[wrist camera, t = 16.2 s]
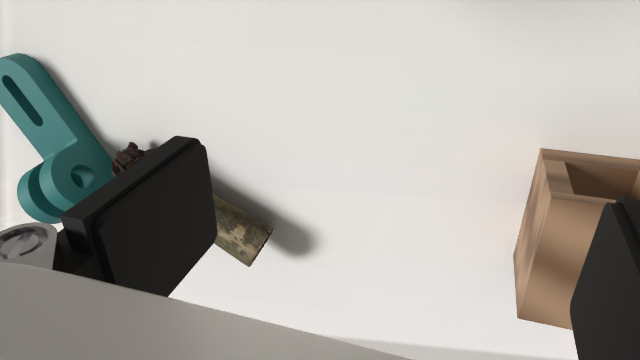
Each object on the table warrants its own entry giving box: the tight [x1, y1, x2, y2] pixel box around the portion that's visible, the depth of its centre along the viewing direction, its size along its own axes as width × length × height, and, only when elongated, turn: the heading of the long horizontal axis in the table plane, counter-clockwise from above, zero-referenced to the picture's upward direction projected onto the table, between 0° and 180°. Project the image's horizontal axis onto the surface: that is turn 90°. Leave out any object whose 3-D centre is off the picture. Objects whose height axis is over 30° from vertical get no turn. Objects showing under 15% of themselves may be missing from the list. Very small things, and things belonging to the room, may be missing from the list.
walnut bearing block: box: [513, 148, 640, 330], centre depth 36 cm, size 11×8×8 cm
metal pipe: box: [111, 142, 273, 267], centre depth 48 cm, size 18×7×6 cm, turn 62°
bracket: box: [0, 53, 115, 224], centre depth 50 cm, size 18×7×8 cm, turn 31°
